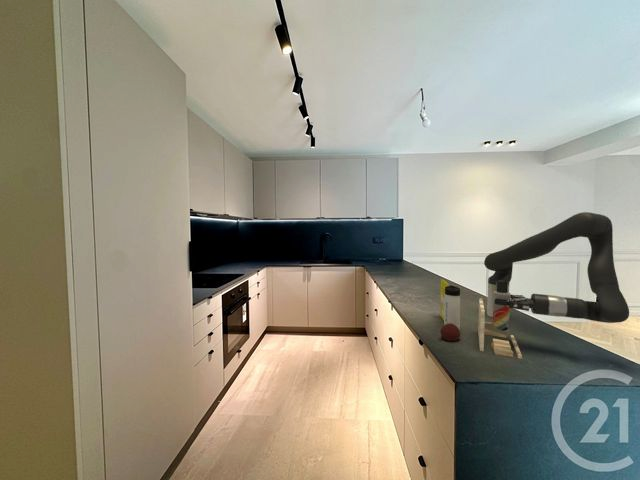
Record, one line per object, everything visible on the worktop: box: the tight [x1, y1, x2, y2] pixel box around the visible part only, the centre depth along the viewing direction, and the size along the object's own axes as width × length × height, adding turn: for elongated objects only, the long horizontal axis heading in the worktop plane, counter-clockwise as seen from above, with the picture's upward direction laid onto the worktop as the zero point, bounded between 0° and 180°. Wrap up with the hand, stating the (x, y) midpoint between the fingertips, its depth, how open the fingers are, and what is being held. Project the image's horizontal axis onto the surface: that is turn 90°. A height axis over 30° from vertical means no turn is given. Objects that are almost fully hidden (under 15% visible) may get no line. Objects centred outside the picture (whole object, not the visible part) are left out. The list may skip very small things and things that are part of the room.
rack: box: [477, 297, 523, 360], centre depth 105 cm, size 20×13×16 cm, turn 151°
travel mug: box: [443, 284, 461, 330], centre depth 120 cm, size 6×7×20 cm
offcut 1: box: [492, 338, 512, 352], centre depth 98 cm, size 6×5×2 cm
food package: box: [439, 278, 450, 321], centre depth 133 cm, size 15×1×20 cm, turn 168°
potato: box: [440, 323, 461, 342], centre depth 110 cm, size 7×8×7 cm
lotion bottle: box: [491, 280, 512, 333], centre depth 106 cm, size 6×6×20 cm
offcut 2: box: [490, 342, 514, 358], centre depth 99 cm, size 6×5×2 cm
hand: (494, 299), depth 107 cm, fingers closed on lotion bottle, 5 cm apart
